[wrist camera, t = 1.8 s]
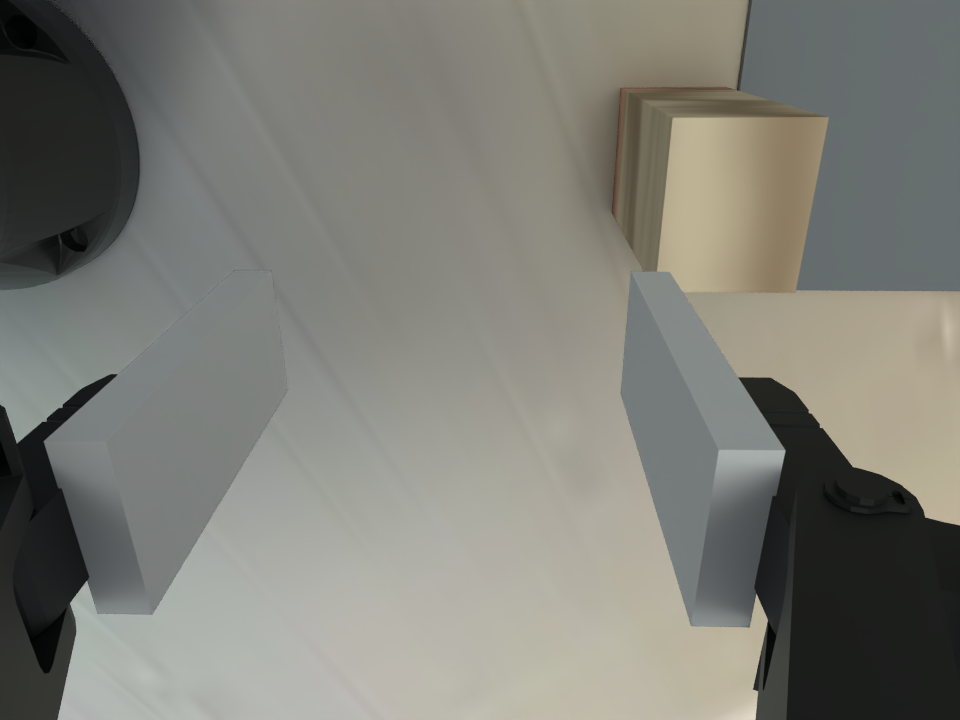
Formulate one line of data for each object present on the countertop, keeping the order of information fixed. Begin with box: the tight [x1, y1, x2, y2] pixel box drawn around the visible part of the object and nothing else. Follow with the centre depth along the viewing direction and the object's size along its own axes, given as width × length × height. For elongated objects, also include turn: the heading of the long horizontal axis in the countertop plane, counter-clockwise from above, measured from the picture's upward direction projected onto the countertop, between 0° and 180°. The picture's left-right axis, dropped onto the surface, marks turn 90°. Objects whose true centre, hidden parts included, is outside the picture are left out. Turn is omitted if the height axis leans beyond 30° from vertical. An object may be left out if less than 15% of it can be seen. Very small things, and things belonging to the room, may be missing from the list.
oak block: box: [612, 87, 829, 293], centre depth 30 cm, size 5×6×12 cm
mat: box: [737, 0, 960, 291], centre depth 35 cm, size 20×14×1 cm
